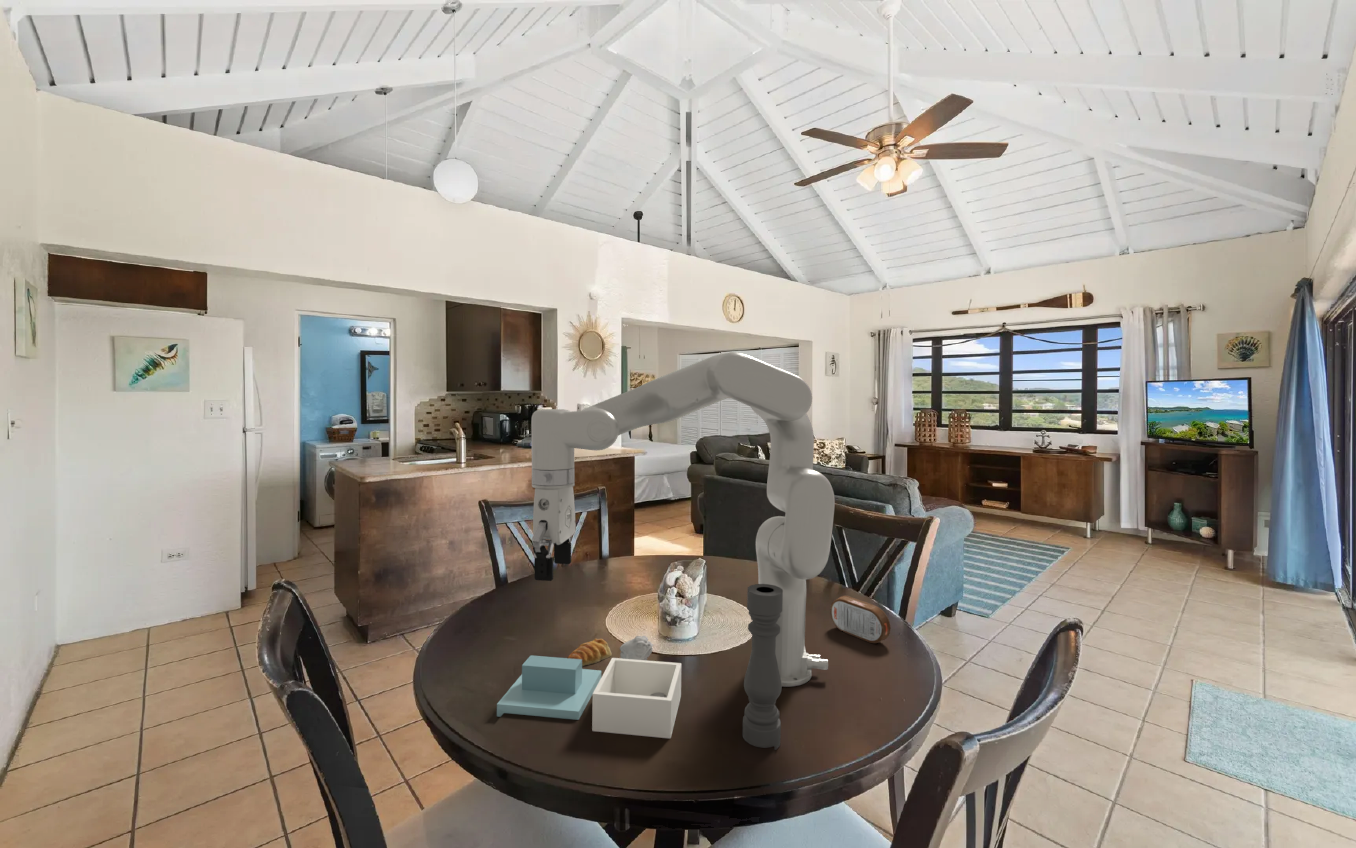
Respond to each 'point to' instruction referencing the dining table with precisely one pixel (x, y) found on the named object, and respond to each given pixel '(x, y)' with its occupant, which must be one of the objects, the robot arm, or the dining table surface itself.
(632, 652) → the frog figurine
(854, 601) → the tin
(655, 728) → the tub
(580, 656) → the pastry
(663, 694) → the nut
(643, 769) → the dining table surface
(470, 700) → the dining table surface
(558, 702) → the lid
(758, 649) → the candle holder
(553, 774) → the dining table surface
